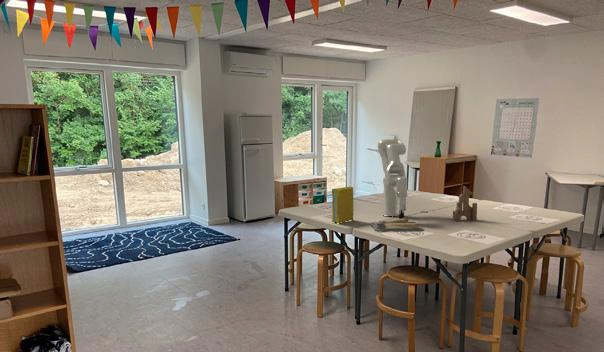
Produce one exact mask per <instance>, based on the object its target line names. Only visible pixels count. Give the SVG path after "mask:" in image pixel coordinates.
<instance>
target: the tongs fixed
mask: <svg viewBox="0 0 604 352" xmlns="http://www.w3.org/2000/svg"><path fill="white" fill-rule="evenodd" d="M419 226H420V223H419V222H416V223H400V224H384V225H378V224H377V229H381V230H383V229H419Z"/></svg>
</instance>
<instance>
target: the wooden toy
mask: <svg viewBox="0 0 604 352" xmlns="http://www.w3.org/2000/svg"><path fill="white" fill-rule="evenodd" d="M470 195H473V192H472V191H471V190H470V189H469V188H467V186H465V185H463V191H462V193H460V194H459V196H458V202H456V207H455V208H456V209H455V210H452V220H453V221H455V222H461V221H462V217H465V219H466V220H467V221H472V222H477V220H478V219H477V218H478V217H477V216H478V203H477V202H473V203H472V204H471V205H472V206H471V205H470V204H469V203H470Z"/></svg>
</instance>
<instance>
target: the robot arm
mask: <svg viewBox="0 0 604 352" xmlns="http://www.w3.org/2000/svg"><path fill="white" fill-rule="evenodd" d="M377 150H378V153H379V155H380V158H381V164H382V170H383V173H384V177H383V180H382V183H383V190H384V192H383V193H384V195H383V196H384V198H383V199H384V201H383V202H384V203H383V205H384V206H383V209H384V210H383V212H382V214H381V215H382V216H383V215H384V216H383V217H386V216H392V217H391V218H394V217H393V216H397V217H398V219H403V218H405V211H406V210H407V197H408V178H407V176H406V170H405V166H404V163H402V162H401V159H400V156H403V155H405V154H406V152H407V147H406V145H405V144H404V142H403V141H402V140H401V139H397V138H396V139H395V138H394V139H393V138H391V139H390V138H389V139H388V138H387V139H385V138H384V139H381V140H379V141H378V143H377Z"/></svg>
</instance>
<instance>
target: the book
mask: <svg viewBox="0 0 604 352" xmlns="http://www.w3.org/2000/svg"><path fill="white" fill-rule="evenodd" d="M331 196H332V197H331V198H332V202H331V203H332V205H331V206H332V207H331V210H332V216H331V220H332V221H331V223H332V222H336V223H341V222H345V221H349V220H353V221H354V186H343V187H337V188H336V187H335V188H331ZM336 223H335V224H336Z"/></svg>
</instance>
